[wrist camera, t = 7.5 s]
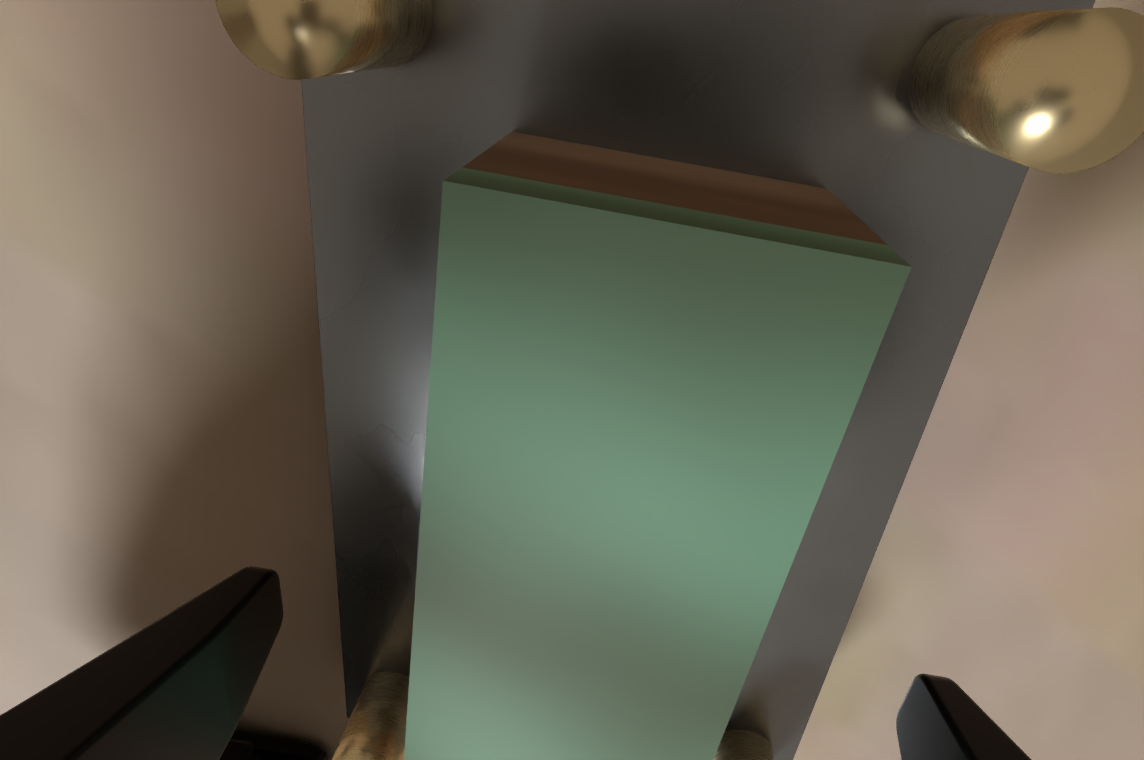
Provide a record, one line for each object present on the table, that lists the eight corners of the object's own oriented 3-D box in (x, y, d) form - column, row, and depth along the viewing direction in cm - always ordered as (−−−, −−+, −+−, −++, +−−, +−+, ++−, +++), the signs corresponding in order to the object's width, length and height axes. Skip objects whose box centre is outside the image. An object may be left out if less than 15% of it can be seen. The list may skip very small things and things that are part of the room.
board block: (512, 131, 11) (443, 180, 7) (826, 188, 11) (911, 265, 7) (454, 656, 16) (399, 828, 13) (661, 697, 16) (663, 882, 13)
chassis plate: (773, 746, 18) (802, 927, 15) (364, 678, 19) (293, 837, 15) (1053, -5, 10) (1278, -24, 7) (324, -86, 11) (151, -147, 7)
